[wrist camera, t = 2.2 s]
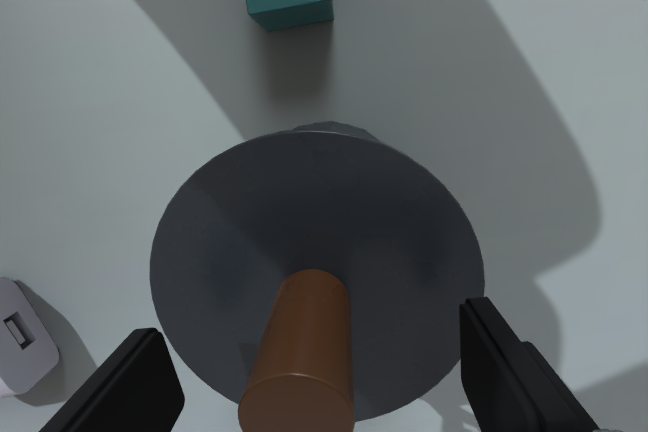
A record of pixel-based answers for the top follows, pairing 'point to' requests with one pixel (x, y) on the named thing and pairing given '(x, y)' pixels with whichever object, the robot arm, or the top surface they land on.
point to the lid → (314, 279)
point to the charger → (22, 343)
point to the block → (289, 12)
